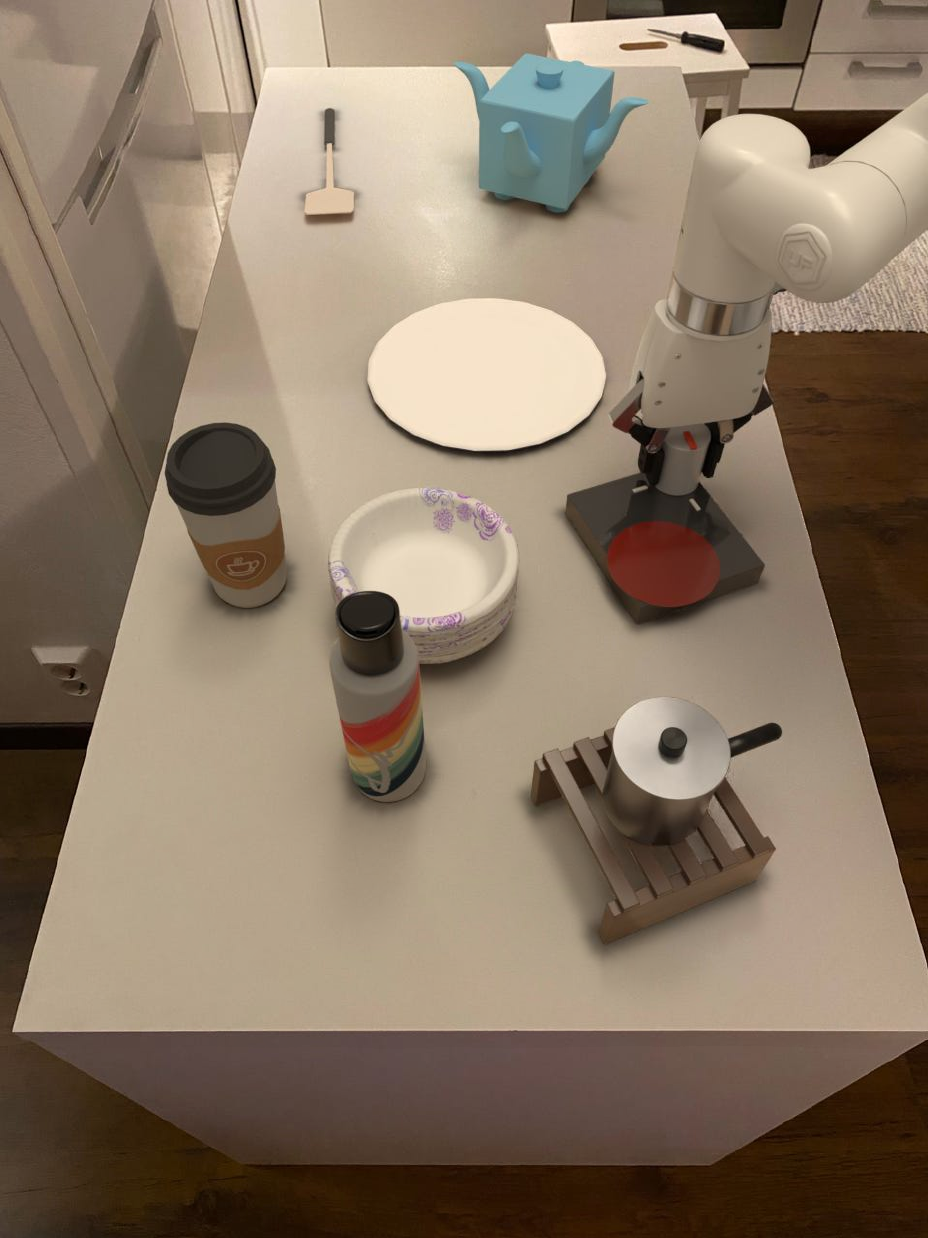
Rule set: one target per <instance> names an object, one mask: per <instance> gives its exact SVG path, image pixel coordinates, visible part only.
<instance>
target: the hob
mask: <svg viewBox="0 0 928 1238" xmlns="http://www.w3.org/2000/svg"><path fill="white" fill-rule="evenodd" d="M564 510H565V511H564V514H565V516H566V518H567V519H568V520H569V522H570V524H571V525H572V527H573V528H574V529H575V531H576V533H577V534H578V536H579V538H580V539H581V541H582V542H583V544H584V545H585V546H586V548H587V549H588V551H589V553H590V554H591V556H592V558H593V559H594V560H595V562H596V563H597V565H598V567H599V568H600V569H601V571H602V573H603V574H604V576H605V577H606V579H607V581H608V582H609V584H610V585H611V587H612V588H613V590H614V592H616V594H617V596H618V597H619V599H620V600H621V602H622V603H623V606H625V608H626V610H627V612H628V614H630V616H631V617H632V620H634V622H635V624H636V626H637V625H641V624H645V623H647V622H649V621H652V620H655V619H658V618H661V617H665V616H667V615H669V614H673V613H676V612H678V611H682V610H684V609H687V608H690V607H693V606H696V605H698V604H703V603H705V602H708V601H711V600H713V599H716V598H719V597H722V596H725V595H728V594H731V593H734V592H736V591H739V590H743V589H746V588H749V587H751V586H754V585H757V584H759V582H760V580H761V578H762V574H763V572H764V570H765V567H766V564H765V562H764V561H763V560H762V559H761V557H760V556H759V555H758V553H757V552H756V551H755V550H754V548H753V547H752V546H751V545H750V543H749V542H748V541H747V540H746V538H745V537H744V535H742V534H741V532H740V531H739V530H738V528H737V527H736V525H734V523H733V522H732V521H731V519H730V518H729V517H728V516H727V514H726V513H725V511H723V509H722V507H721V506H720V505H719V504H718V503H717V502H716V501H715V499H714V498H713V496H711V494H710V493H709V492H708V490H707V489H706V488H705V487H704V485H703V484H702V482H700V480H699V484H698V486H697V488H696V489H695V490H694V491H693V492H691V493H689V494H686V495H681V496H675V495H669V494H666V493H663V492H661V491H660V490H658V489H657V488H656V487H655V486H650V484H649V482H648V480H647V477H646V475H645V473H643V474H641V472H640V471H639V472H637V473H634V474H631V475H628V476H624V477H621V478H618V479H617V478H616V479H613V480H611V481H608V482H605V483H601V484H598V485H595V486H591V487H589V488H585V489H581V490H577V491H575V492H572V493H568V494H567V495H566V501H565V509H564ZM649 521H664V522H671V523H675V524H679V525H682V526H685V527H687V528H689V529H691V530H693V531H695V532H697V533H698V534H699V535H701V536H702V537H703V538H704V539H706V540H707V541H708V542H709V544H710V545H711V546H712V547H713V549H714V550H715V552H716V554H717V556H718V559H719V563H720V575H719V579H718V582H717V584H716V586H715V587H714V589H713V590H712V591H711V592H710V593H709V594H708V595H707V596H706V597H704V598H703V599H701V600H699V601H697V602H695V603H693V604H689V605H686V606H680V607H660V606H654V605H650V604H647V603H644V602H641V601H639V600H637V599H635V598H633V597H632V596H630V595H628V594H627V593H626V592H624V591H623V590H622V589H621V588H620V587H619V586H618V585H617V584H616V583H615V581H614V580H613V578H612V576H611V575H610V572H609V570H608V566H607V552H608V549H609V546H610V544H611V542H612V541H613V539H614V538H615V537H616V536H617V535H618V534H619V533H620V532H622V531H623V530H624V529H626V528H628V527H630V526H633V525H635V524H639V523H642V522H649Z"/></svg>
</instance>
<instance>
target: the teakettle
mask: <svg viewBox="0 0 928 1238" xmlns="http://www.w3.org/2000/svg"><path fill="white" fill-rule="evenodd" d="M453 65H454V67H455V68H456V69H458V70H459V71H460V72H461V73H463V75H465V77H466V79H467V80H468V81H469V84H470V86H471V90H472V93H473V97H474V102H475V108H476V109H475V110H476V113H477V118H478V124H479V125H478V189H479V190H483V191H488V192H492V193H493V195H494V196H495V198H497V199H499V200H503V201H509V200H512V199H515V198H516V199H517V198H518V199H521V200H526V201H530V202H534V203H538V204H542V205H545V207H546V209H547V210H548V211H550V212H552V213H563V212H567V211H568V210H569V209H570V206H571V204H572V203H573V202H574V200H575V198H577V196H578V195H579V193H580V192H581V191H582V189H583V188H584V186H585V185H586V184H588V183H589V182H590V178H591V177H592V176H593V174H594V173H595V172H596V170H597V169H598V168H599V166H600V165H601V163H602V162H603V161H604V159H605V157H606V154H607V153H608V152H609V151H610V149H611V148H612V146H613V145H614V143H615V141H616V139H617V137H618V134H619V132H620V129H621V127H622V124H623V122H624V121H625V118H626V117H627V116H628V115H629V114H630V112H632V111H633V110H635V109H637V108H639V107H641V106H645V105H648V104H649V103H650V100H649V99H647V98H643V97H638V96H627V97H623V98H621V99H619V101H617V102H616V103H615V104H614V105H613V108H612V99H613V89H614V82H615V81H614V80H615V71H614V70H613V69H608V68H603V67H599V66H594V65H593V66H592V65H588V64H585V63H584V62H582V61H581V60H572V61H568V60H562V59H557V58H552V57H547V56H542V55H537V54H531V53H527V52H526V53H524V54H523V55H522V56H521V57H520V58H519V59H517V61H516V62H515V63H514V64H513V65H512V66H511V67H510V68H509V69H508V70H507V71H506V72H505V74H503V75H502V76H501V77H500V78H499V79H498V81H497V82H496V83H495V84H494V85H492V87H491V88H490V87H489V84H488V81H487V79H486V77H485V75H484V73H483V72H482V70H481V69H480V68H479V67H477V66H476V65H474V64H472V63H469V62H464V61H454V62H453Z"/></svg>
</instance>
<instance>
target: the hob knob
mask: <svg viewBox="0 0 928 1238" xmlns="http://www.w3.org/2000/svg"><path fill="white" fill-rule="evenodd" d="M710 440H711V433H710V430H709V429H708V427H707V426H706V425H705V424H704V423H701V424H694V425H686V426H678V427H671V429H670V431H669V433H668V435H667V437H666V439H665V441H664V443H663V444H662V448H663V450H664V452H665V458H664V462H663V467H662V471H661V476H660V480H659V483H658V484H657V485H656V486H655V487H656V488H657V489H658V490H660V491H661V492H663V493H666V494H669V495H675V496H681V495H686V494H689V493H691V492H693V491H694V490H695V489H696V488H697V486H698V484H699V481H700V480H701V478H702V477H701V476H702V474H703V473H702V469H703V466H704V462H705V458H706V455H707V451H708V447H709V443H710Z"/></svg>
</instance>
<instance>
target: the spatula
mask: <svg viewBox="0 0 928 1238" xmlns="http://www.w3.org/2000/svg"><path fill="white" fill-rule="evenodd" d="M335 111H336V110H335V109H334V108H332V107H329V108H326V109H325V110H324V131H323V132H324V134H323V135H324V136H323V137H324V138H323V139H324V140H323V144H324V146H326V167H325V168H326V171H325V177H326V178H325V179H326V180H325V187H324V188H321V189H317V190H314V191H310V192H308V193H305V200H304V202H305V203H304V211H303V212H304V214H305V215H307V216H313V215H334V214H335V215H336V214H337V215H338V214H351V213H352V212H354V211H355V192H354V191H352V190H348V189H344V188H339V187H335V183H334V182H335V181H334V162H333V161H334V160H333V158H334V157H333V146H335V143H336V142H335V134H336V133H335V132H336V130H335V129H336V128H335V127H336V126H335V123H336V121H335V120H336V119H335V113H336V112H335Z"/></svg>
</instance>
